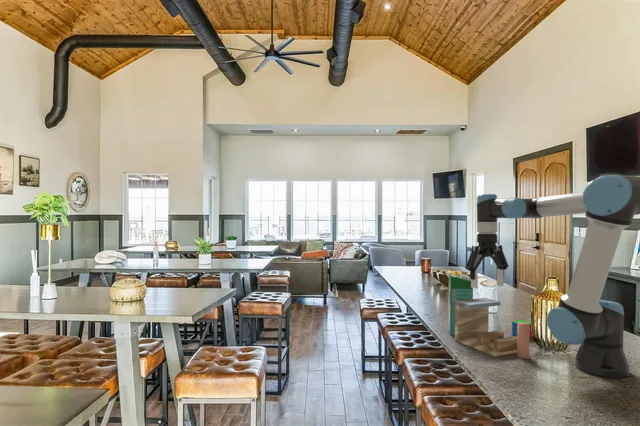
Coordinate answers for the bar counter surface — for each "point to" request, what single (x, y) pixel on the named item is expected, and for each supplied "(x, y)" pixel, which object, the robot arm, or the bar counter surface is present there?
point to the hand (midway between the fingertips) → (487, 286)
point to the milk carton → (457, 296)
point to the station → (480, 328)
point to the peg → (523, 340)
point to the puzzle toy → (514, 327)
